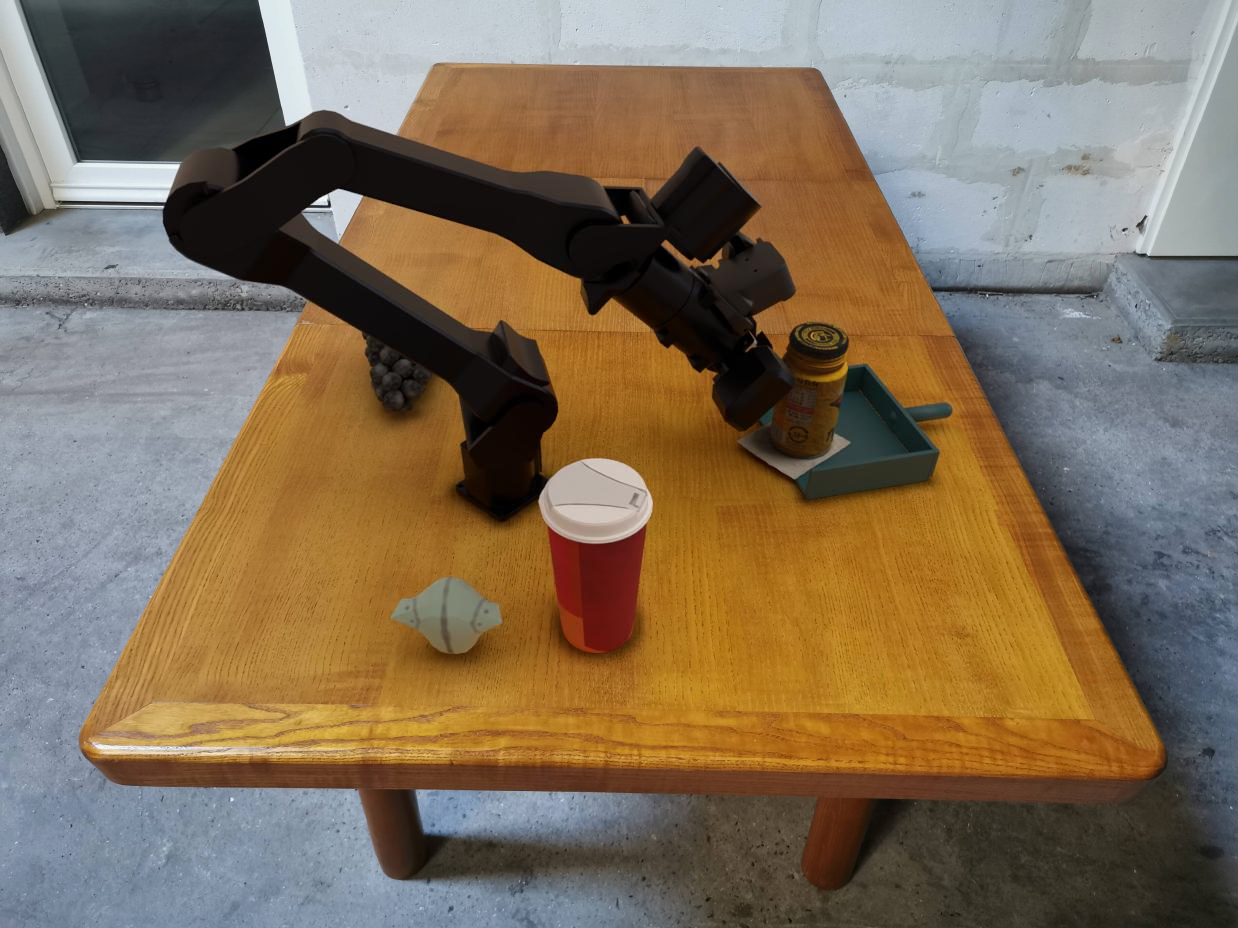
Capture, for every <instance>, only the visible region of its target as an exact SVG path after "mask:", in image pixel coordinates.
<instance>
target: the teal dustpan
mask: <svg viewBox="0 0 1238 928" xmlns="http://www.w3.org/2000/svg"><path fill="white" fill-rule="evenodd" d="M847 366H848V371H847V377H846V381H845V387H844V390H843V395H842V399H841V405H840V409H839V415H838V419H837V424H836V428H835V434H837V435H839V436H840V437H843V438H844V439H846V440H848V441H850V442H851V443H850V444H849V445H847V446H846V447H844V448H843V449H841V450H840V451H838V452H837V453H835V454H834V455H832V456H831V457H829V458H828V459H826V460H824V461H823V462H821V463H819V464H818V465H816V466H814V467H813V468H810V469H809V470H808V471H807V472H805V473H804V474H802V475H800V476H799V477H798V478H796V479H795V480H794V481H795V483H796V485H797V486H798V488H799V489H800V491H801V493H802V494H803V496H804V498H805V499H806V500H807V501H808V500H815V499H821V498H827V497H832V496H839V495H840V496H841V495H846V494H851V493H858V492H864V491H871V490H877V489H885V488H890V487H896V486H902V485H909V484H914V483H915V484H916V483H921V482H927V480H928V478H932V477H934V476H933V475H934V473H935V469H936V467H937V463H938V460H939V457H940V453H941V451H940V450H939V449H938V447H937V446H936V445H935V444H934V443H933V441H932V440H931V438H930V437H928V435H927V434H926V433H925V432H924V431H923V429H922V428H921V427H920V426H919V424H918V423H922V422H930V421H936V420H944V419H948V418H950V417H951V416H952V414H953V411H954V409H953V405H951V404H950V403H948V402H944V401H943V402H935V403H930V404H929V403H928V404H922V405H921V404H920V405H914V406H907V407H904V406H903V405H902V404H901V403H900V402H899V400H898V399H897V398H896V396H895V395H894V394H893V393H892V392H891V391H890V389H889V388H888V387H887V386H886V384H885V383H884V382H883V381H882V380H881V379H880V377H879V376H878V375H877V374H876V373H875V371H874V370H873V369H872V368H871V366H870V365H869V364H868V363H866V362H865V363H860V364H852V365H847ZM773 410H774V406H773V407H772V408H771V409H770V410H769V411H768V412H767V413H766V414H765V415H764V416H762V417H761V418H760V419H759V420H758V421H759V423H760V425H761V427H762V426H764V425H766V424H768V423H770V422H771V421H772V416H773Z"/></svg>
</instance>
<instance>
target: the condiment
mask: <svg viewBox="0 0 1238 928" xmlns="http://www.w3.org/2000/svg"><path fill="white" fill-rule="evenodd" d="M849 347H850V338H849V336H848V335H847V333H846V332H845V331H844V330H843V329H841V328H840V327H838V326H836V325H834V324H832V323H827V322H823V321H808V322H804V323H800V324H798V325H796V326H794V328H792V330H791V331H790V332H789V336H788V344H787V346H786V348H785V350H786V352H785V353H784V354H783V355H782V357H781V359H782V360H783V361H784V362H785V364H786V365H787V367H788V368H789V370H790V371H791V373H792V374H793V375H794V377H795V378H796V382H795V385H794V388H793V389H792V390H791V391H790V392H789V393H788V394H787V395H785V396H784V397H783V398H782V399H781V400H780V401H779V402H778V403H777V404H776V405H775V406H774V410H773V416H772V421H771V422H770V423H768V424H766V425H764V426H762V425H761V426H759V427H758V428H757V429H755V430H753V431H752V432H750V433H748V434H746V435H744V436H742V437H740V438H739V439H737V440H736V442H737V443H738V444H739V445H742V447H743V448H745V449H746V450H748V451H749V452H750V453H752V454H753V455H755V456H756V457H758V458H759V459H761V460H762V461H764V462H766V463H767V464H768V466H772V467H774V468H776V469H777V470H778V471H780V472H781V473H782V474H784V475H787V476H788V477H790V478H792V479H793V480H794V481H795V479H796V478H798V477H799V476H800V475H802V474H804V473H805V472H807V471H808V470H809V469H810V468H813V467H814V466H816V465H818V464H819V463H821V462H823V461H824V460H826V459H828V458H829V457H831V456H832V455H834V454H835V453H837V452H838V451H840V450H841V449H843V448H844V447H846V446H847V445H849V444H850V443H851V442H850V441H848V440H846V439H844V438H843V437H840V436H839V435H837V434H835V428H836V424H837V419H838V415H839V409H840V405H841V399H842V395H843V390H844V387H845V381H846V377H847V371H848V366H849V365H848V362H847V358H848V349H849Z"/></svg>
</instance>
